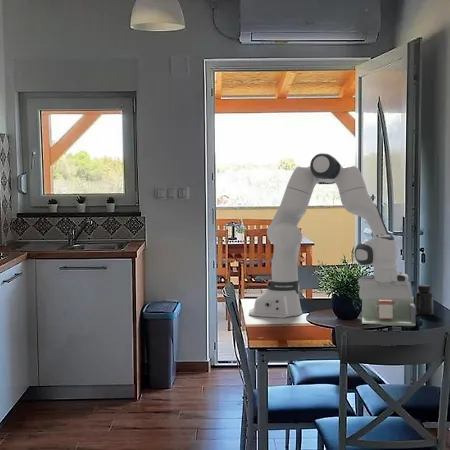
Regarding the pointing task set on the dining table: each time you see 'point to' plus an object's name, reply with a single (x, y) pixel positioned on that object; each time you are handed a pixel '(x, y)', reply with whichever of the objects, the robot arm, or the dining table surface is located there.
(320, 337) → the dining table surface
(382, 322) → the pale green storage bin
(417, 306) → the supplement bottle
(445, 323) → the dining table surface
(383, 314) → the beige box
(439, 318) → the dining table surface
